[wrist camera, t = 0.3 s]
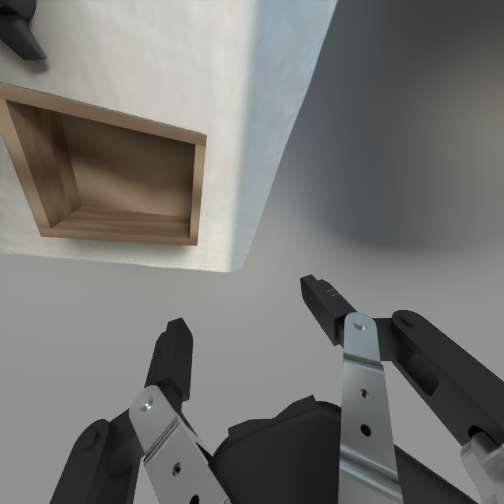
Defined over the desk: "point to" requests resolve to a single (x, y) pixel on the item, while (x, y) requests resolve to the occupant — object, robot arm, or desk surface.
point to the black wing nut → (19, 28)
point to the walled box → (103, 170)
